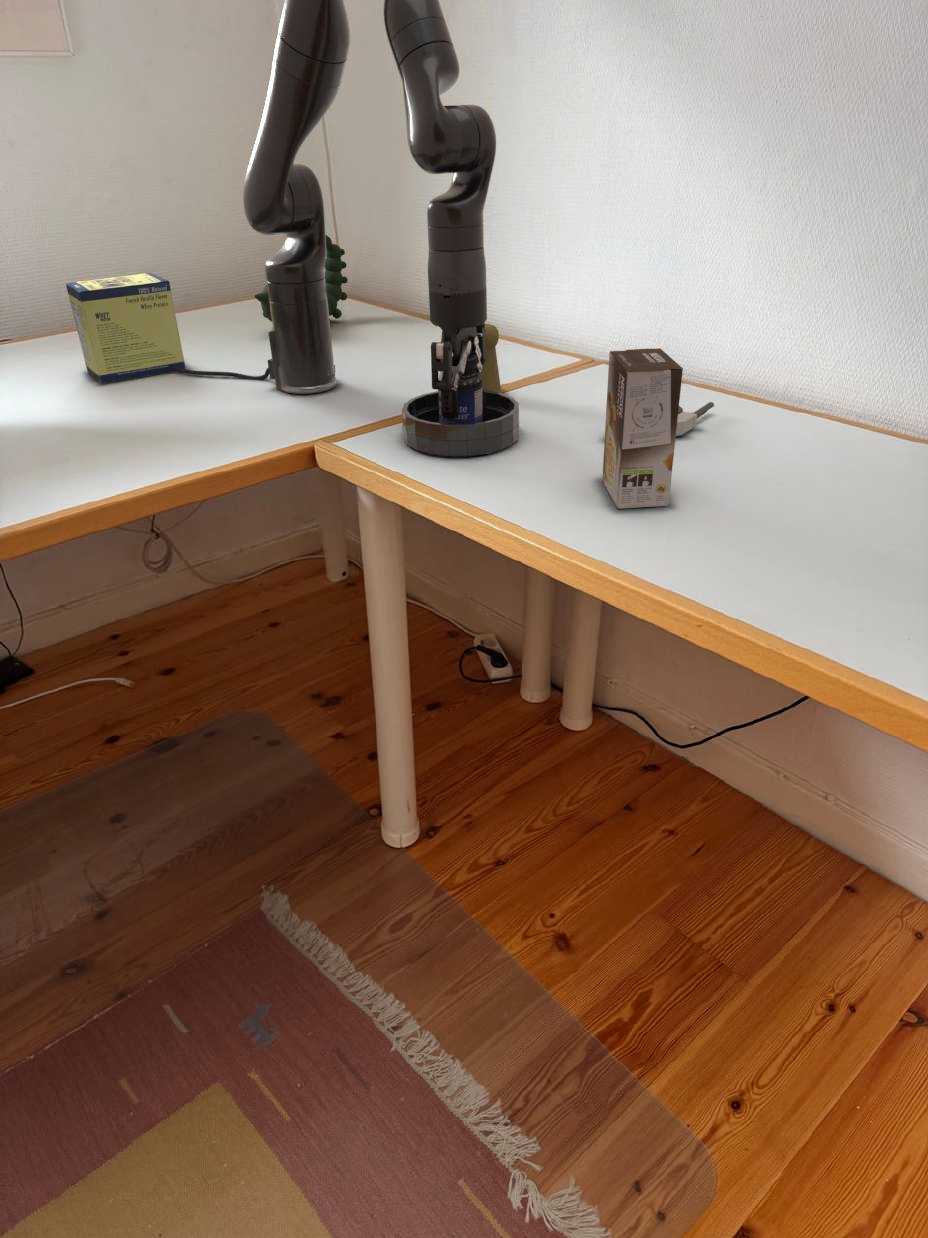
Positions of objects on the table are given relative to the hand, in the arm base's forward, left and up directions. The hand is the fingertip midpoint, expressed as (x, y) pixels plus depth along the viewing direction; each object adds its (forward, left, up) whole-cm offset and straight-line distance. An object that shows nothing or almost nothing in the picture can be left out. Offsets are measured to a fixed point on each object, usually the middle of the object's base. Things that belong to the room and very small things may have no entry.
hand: (461, 408), depth 119 cm
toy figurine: (-56, +53, -4) cm, 77 cm away
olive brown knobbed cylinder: (-4, +20, -4) cm, 21 cm away
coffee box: (+27, -12, -4) cm, 30 cm away
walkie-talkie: (+26, +12, -4) cm, 29 cm away
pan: (0, 0, -4) cm, 4 cm away
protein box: (-70, +16, -4) cm, 72 cm away
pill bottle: (0, 0, -4) cm, 4 cm away
